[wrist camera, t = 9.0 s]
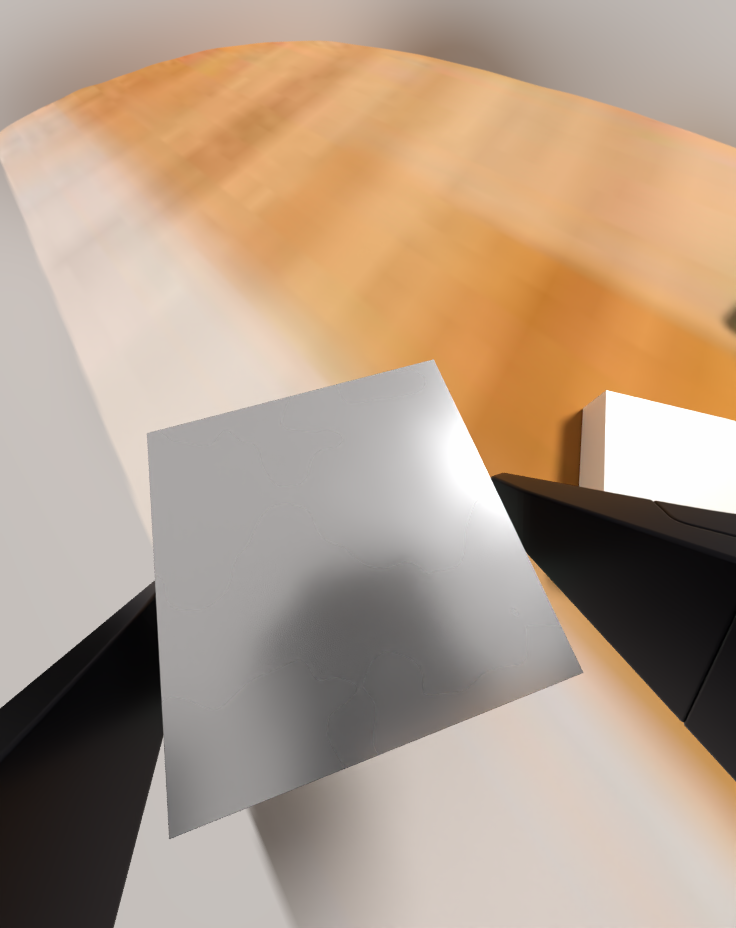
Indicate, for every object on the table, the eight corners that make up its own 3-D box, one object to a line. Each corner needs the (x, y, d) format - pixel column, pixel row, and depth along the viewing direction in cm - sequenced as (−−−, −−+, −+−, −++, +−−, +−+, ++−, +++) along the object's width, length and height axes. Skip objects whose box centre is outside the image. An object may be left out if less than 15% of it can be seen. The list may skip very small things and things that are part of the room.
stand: (777, 622, 15) (836, 629, 13) (575, 562, 16) (602, 561, 14) (749, 448, 18) (792, 434, 16) (583, 408, 19) (606, 390, 17)
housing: (432, 604, 13) (582, 672, 4) (314, 645, 13) (168, 839, 3) (392, 491, 15) (433, 359, 6) (287, 523, 15) (146, 433, 5)
